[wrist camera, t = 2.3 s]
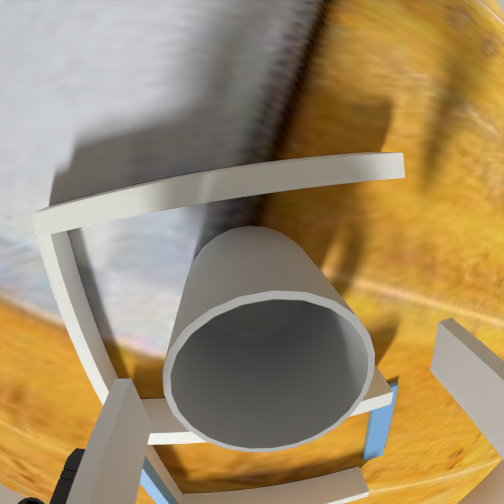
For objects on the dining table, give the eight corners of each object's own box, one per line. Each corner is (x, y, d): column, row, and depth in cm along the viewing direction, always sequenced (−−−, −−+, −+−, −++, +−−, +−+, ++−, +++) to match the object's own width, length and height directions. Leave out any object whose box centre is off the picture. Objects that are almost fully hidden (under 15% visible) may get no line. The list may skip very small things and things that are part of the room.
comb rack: (46, 207, 16) (14, 218, 12) (403, 150, 17) (437, 151, 13) (175, 498, 25) (174, 524, 21) (377, 465, 26) (388, 489, 22)
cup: (247, 195, 17) (272, 237, 8) (362, 305, 19) (434, 393, 11) (162, 289, 18) (122, 392, 9) (282, 377, 20) (311, 484, 12)
